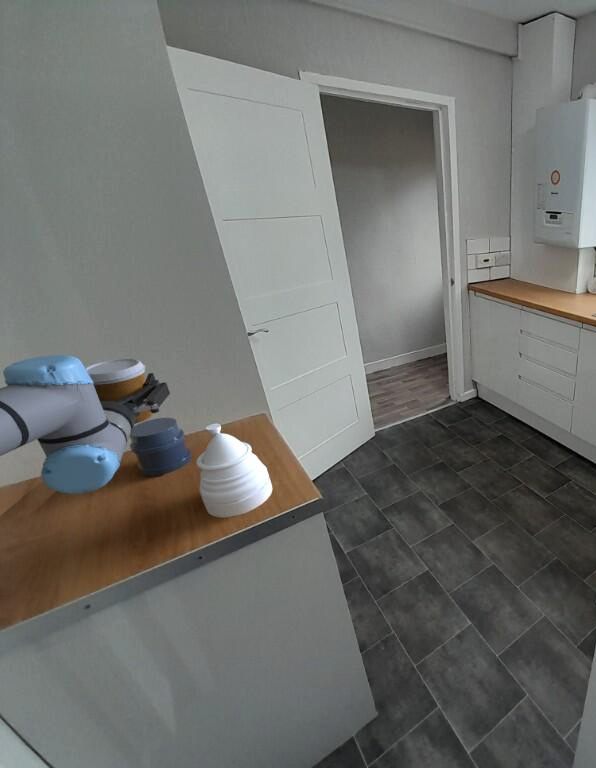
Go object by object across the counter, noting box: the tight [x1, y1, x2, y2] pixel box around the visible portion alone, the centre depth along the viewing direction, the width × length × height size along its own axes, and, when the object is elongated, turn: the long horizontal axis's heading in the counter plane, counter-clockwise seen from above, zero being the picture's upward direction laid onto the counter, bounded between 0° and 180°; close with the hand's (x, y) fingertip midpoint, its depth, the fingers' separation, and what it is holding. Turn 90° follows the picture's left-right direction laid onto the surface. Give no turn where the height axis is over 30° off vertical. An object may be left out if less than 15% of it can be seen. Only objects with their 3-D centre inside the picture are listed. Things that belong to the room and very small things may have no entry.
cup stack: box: [129, 417, 193, 477], centre depth 102 cm, size 10×10×11 cm
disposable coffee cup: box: [85, 357, 154, 425], centre depth 83 cm, size 10×10×12 cm
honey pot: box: [196, 423, 273, 518], centre depth 89 cm, size 13×13×18 cm
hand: (126, 383), depth 87 cm, fingers closed on disposable coffee cup, 8 cm apart
